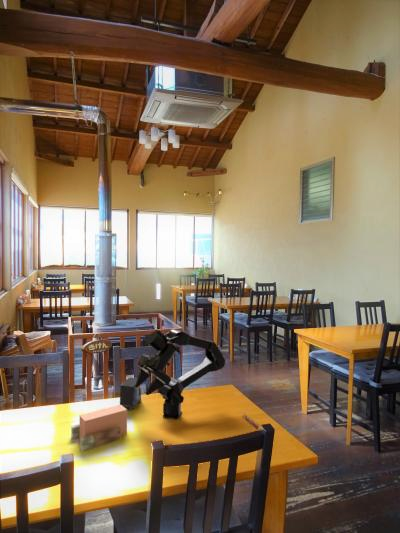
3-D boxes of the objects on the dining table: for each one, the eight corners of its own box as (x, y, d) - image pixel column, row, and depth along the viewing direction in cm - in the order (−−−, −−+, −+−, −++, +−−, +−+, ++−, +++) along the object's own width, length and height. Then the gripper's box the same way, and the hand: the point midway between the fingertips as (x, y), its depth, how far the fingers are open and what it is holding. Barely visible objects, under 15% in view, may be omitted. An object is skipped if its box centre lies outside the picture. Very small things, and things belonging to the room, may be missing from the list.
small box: (133, 410, 157) (133, 386, 156) (119, 408, 158) (119, 385, 158) (142, 400, 167) (142, 378, 167) (128, 399, 169) (128, 376, 168)
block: (120, 427, 142) (120, 404, 142) (126, 433, 138) (126, 409, 137) (79, 439, 133) (79, 415, 132) (84, 446, 128) (84, 421, 128)
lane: (107, 426, 142) (107, 416, 142) (120, 439, 133) (120, 428, 133) (71, 437, 134) (71, 426, 134) (81, 451, 125) (81, 439, 124)
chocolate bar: (246, 417, 153) (246, 412, 153) (262, 430, 142) (262, 424, 142) (241, 418, 152) (241, 413, 152) (256, 431, 141) (257, 426, 141)
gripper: (140, 341, 153) (117, 373, 148) (162, 351, 138) (137, 388, 132) (157, 355, 158) (136, 387, 153) (180, 366, 143) (157, 402, 138)
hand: (141, 390), depth 144 cm, fingers open, 9 cm apart
